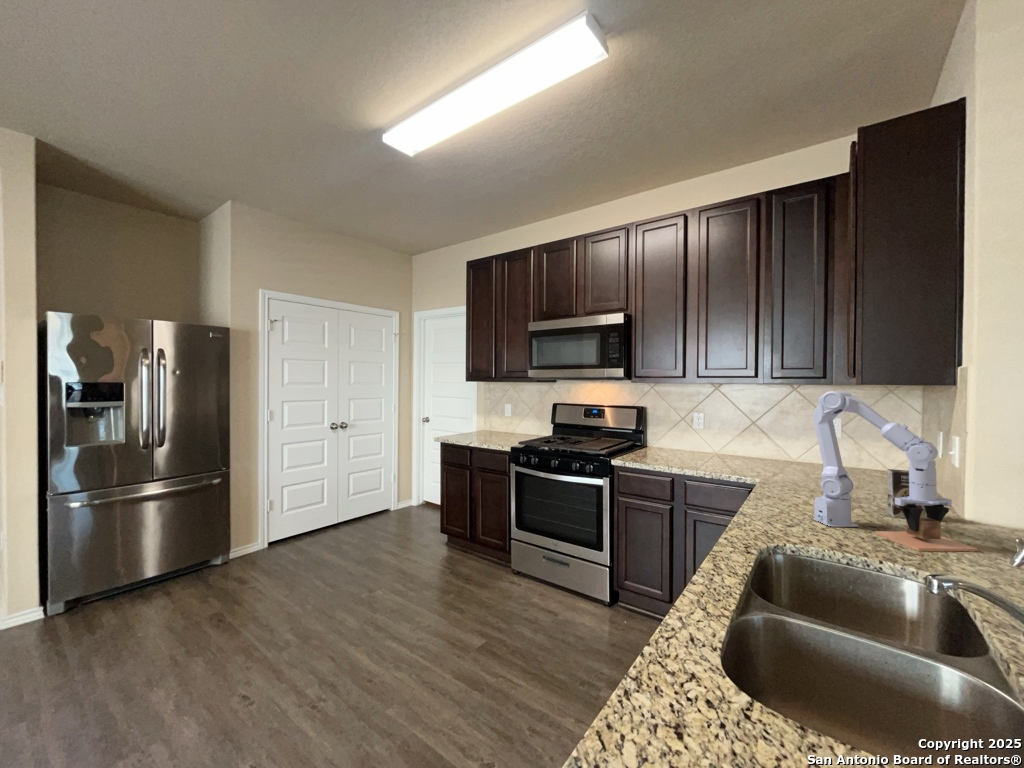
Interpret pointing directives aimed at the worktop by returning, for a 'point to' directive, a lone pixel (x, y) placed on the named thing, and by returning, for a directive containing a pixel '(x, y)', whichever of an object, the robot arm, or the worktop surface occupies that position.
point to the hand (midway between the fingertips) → (923, 530)
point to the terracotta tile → (925, 542)
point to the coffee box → (899, 492)
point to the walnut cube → (927, 529)
